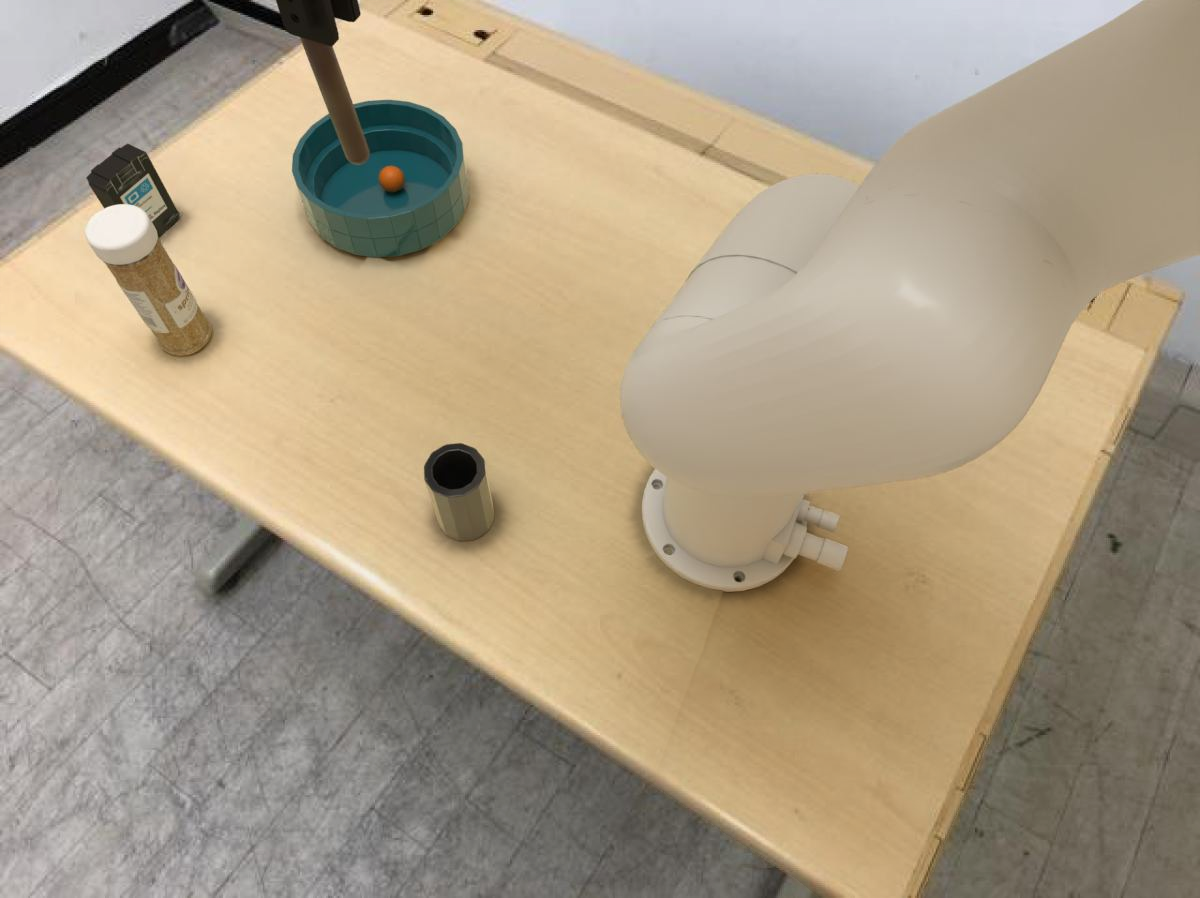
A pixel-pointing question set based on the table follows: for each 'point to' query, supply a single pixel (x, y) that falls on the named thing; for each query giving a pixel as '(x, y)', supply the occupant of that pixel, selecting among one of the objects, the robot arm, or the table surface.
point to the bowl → (354, 195)
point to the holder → (459, 491)
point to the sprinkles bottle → (148, 277)
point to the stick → (337, 100)
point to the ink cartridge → (133, 186)
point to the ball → (391, 179)
